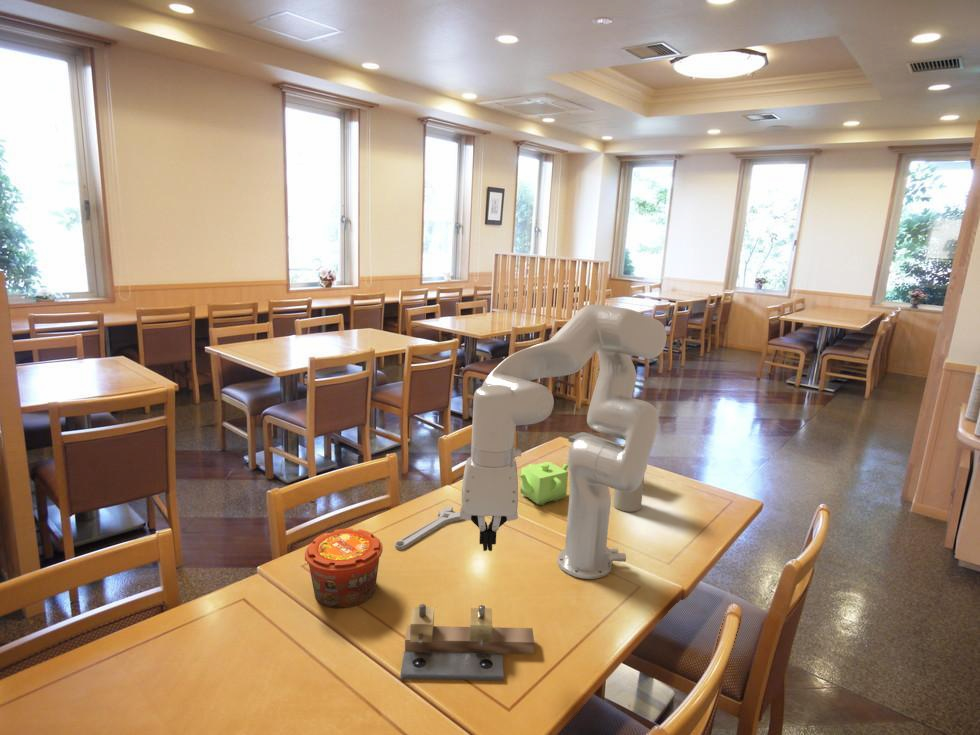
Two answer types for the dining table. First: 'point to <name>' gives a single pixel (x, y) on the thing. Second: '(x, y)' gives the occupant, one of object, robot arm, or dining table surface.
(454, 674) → the flange plate
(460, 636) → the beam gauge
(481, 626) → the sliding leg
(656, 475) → the dining table surface
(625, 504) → the travel mug
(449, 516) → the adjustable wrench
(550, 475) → the teapot
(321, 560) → the food container
